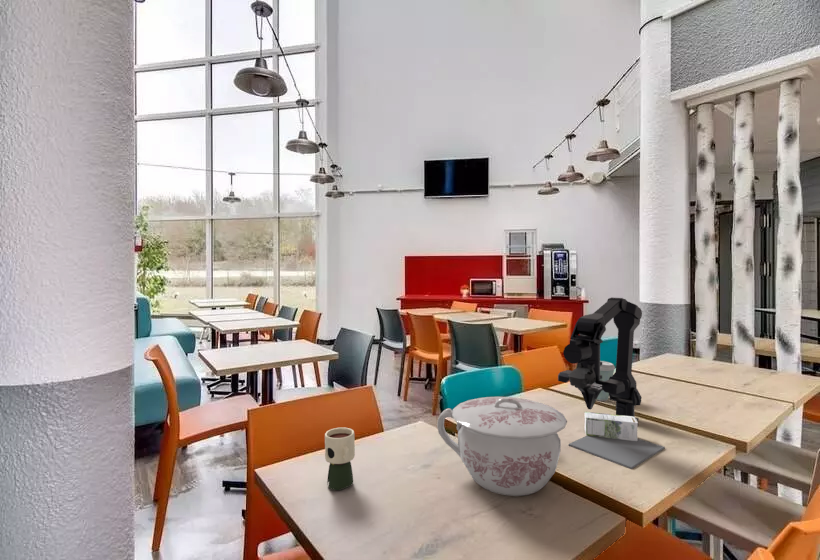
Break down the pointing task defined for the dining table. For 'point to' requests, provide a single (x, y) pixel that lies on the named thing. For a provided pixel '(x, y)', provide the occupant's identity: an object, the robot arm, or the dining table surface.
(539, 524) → the dining table surface
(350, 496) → the dining table surface
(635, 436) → the syrup box
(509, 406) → the chamber pot
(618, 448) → the mat
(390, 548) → the dining table surface
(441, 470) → the dining table surface
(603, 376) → the disposable coffee cup
